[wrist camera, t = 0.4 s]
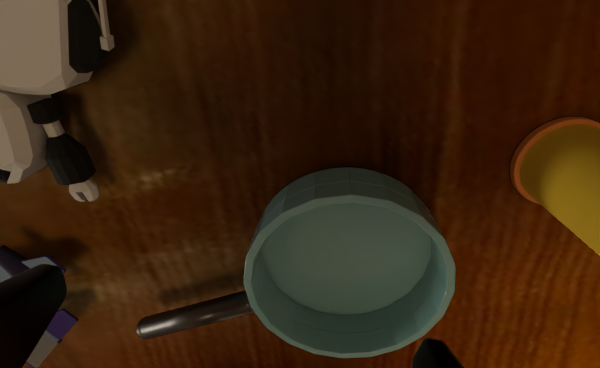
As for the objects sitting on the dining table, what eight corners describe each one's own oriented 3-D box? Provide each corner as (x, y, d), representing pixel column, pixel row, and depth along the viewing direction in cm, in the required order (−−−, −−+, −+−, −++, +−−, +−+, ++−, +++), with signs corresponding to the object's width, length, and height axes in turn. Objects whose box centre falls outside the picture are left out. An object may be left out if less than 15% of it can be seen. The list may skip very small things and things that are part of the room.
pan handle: (257, 282, 24) (253, 299, 22) (266, 298, 25) (263, 315, 23) (138, 314, 26) (128, 331, 25) (149, 328, 27) (140, 345, 25)
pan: (406, 325, 28) (418, 370, 24) (249, 300, 28) (237, 341, 24) (463, 184, 22) (489, 216, 18) (264, 152, 22) (252, 178, 18)
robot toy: (128, 188, 25) (144, -49, 17) (88, 225, 21) (88, -59, 13) (-45, 133, 24) (-106, -143, 16) (-119, 161, 20) (-245, -184, 12)
